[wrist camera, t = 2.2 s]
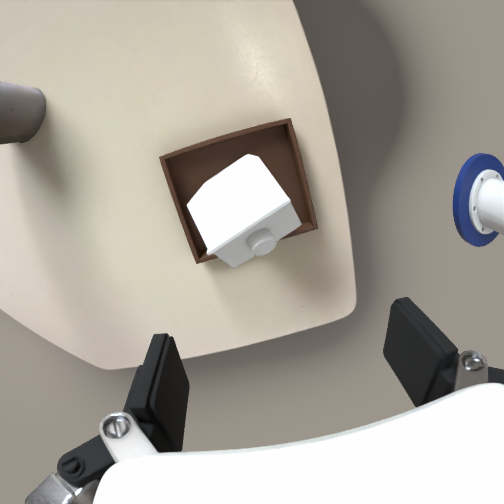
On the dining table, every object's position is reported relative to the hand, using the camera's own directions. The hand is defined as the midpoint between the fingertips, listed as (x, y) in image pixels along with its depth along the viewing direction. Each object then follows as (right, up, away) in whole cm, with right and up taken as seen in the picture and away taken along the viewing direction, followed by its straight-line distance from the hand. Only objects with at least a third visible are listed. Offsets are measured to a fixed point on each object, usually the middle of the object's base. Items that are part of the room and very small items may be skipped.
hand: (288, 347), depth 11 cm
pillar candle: (-39, +27, +20) cm, 51 cm away
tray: (-3, +13, +27) cm, 30 cm away
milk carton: (-3, +12, +27) cm, 30 cm away
